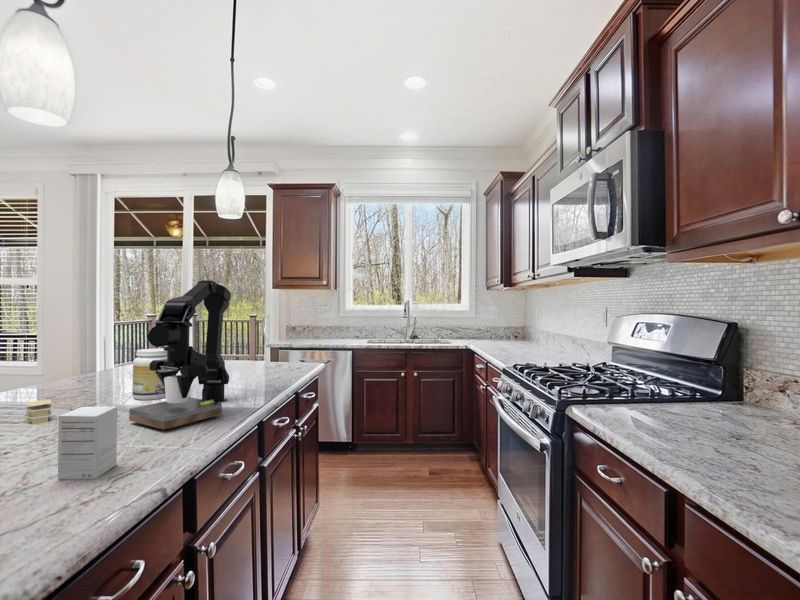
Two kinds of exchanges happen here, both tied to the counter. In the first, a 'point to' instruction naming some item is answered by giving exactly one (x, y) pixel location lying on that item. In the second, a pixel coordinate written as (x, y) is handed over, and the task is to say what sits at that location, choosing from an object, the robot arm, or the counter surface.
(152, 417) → the levelling plate
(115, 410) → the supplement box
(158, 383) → the supplement tub
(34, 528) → the counter surface
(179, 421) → the brown wooden board
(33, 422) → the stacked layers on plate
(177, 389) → the white cup
